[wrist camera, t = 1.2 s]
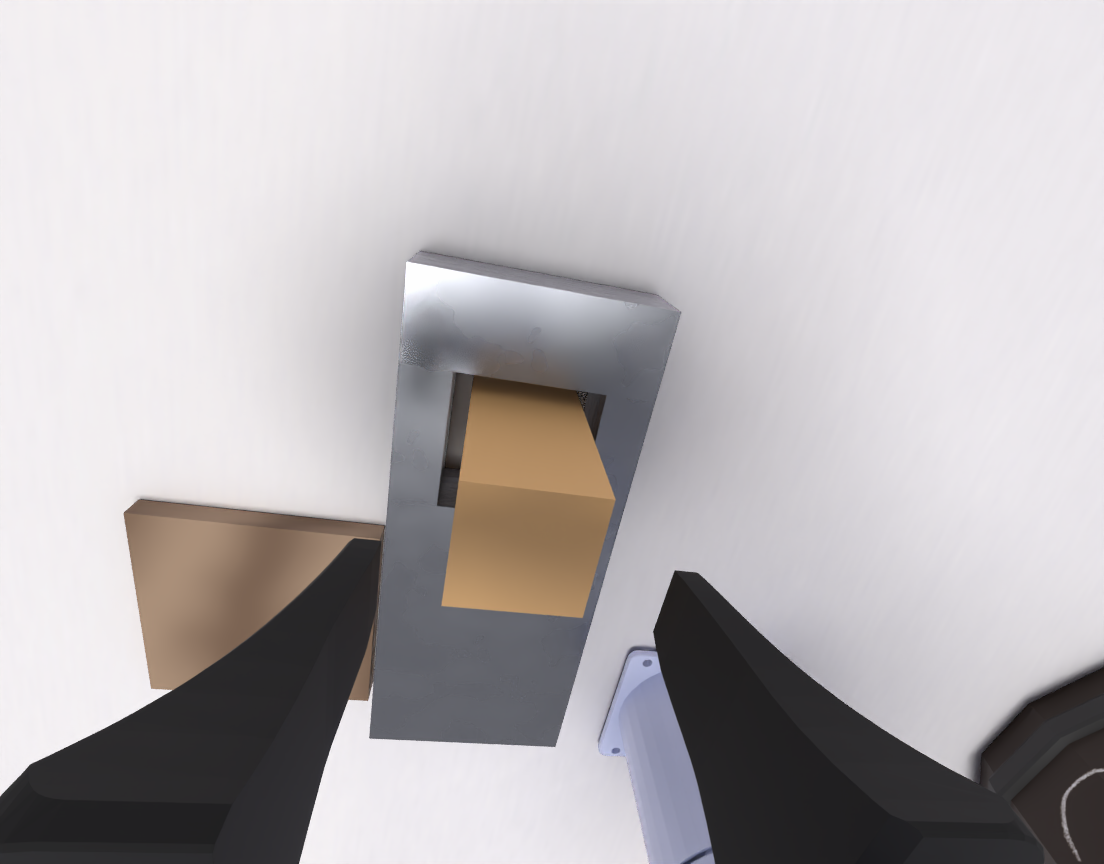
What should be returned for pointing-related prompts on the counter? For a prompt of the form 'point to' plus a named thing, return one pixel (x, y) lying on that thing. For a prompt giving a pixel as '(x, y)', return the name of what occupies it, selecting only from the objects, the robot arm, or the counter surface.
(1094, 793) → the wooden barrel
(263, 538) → the board
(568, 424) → the peg
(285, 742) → the robot arm
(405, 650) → the grey slotted block
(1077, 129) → the counter surface
